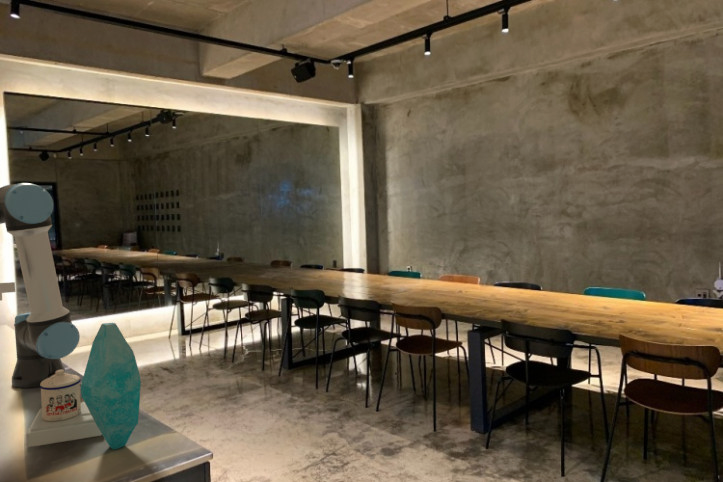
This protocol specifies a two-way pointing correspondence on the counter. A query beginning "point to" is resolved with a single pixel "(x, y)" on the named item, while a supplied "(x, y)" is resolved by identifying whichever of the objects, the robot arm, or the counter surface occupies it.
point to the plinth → (62, 428)
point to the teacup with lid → (60, 396)
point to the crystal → (112, 385)
